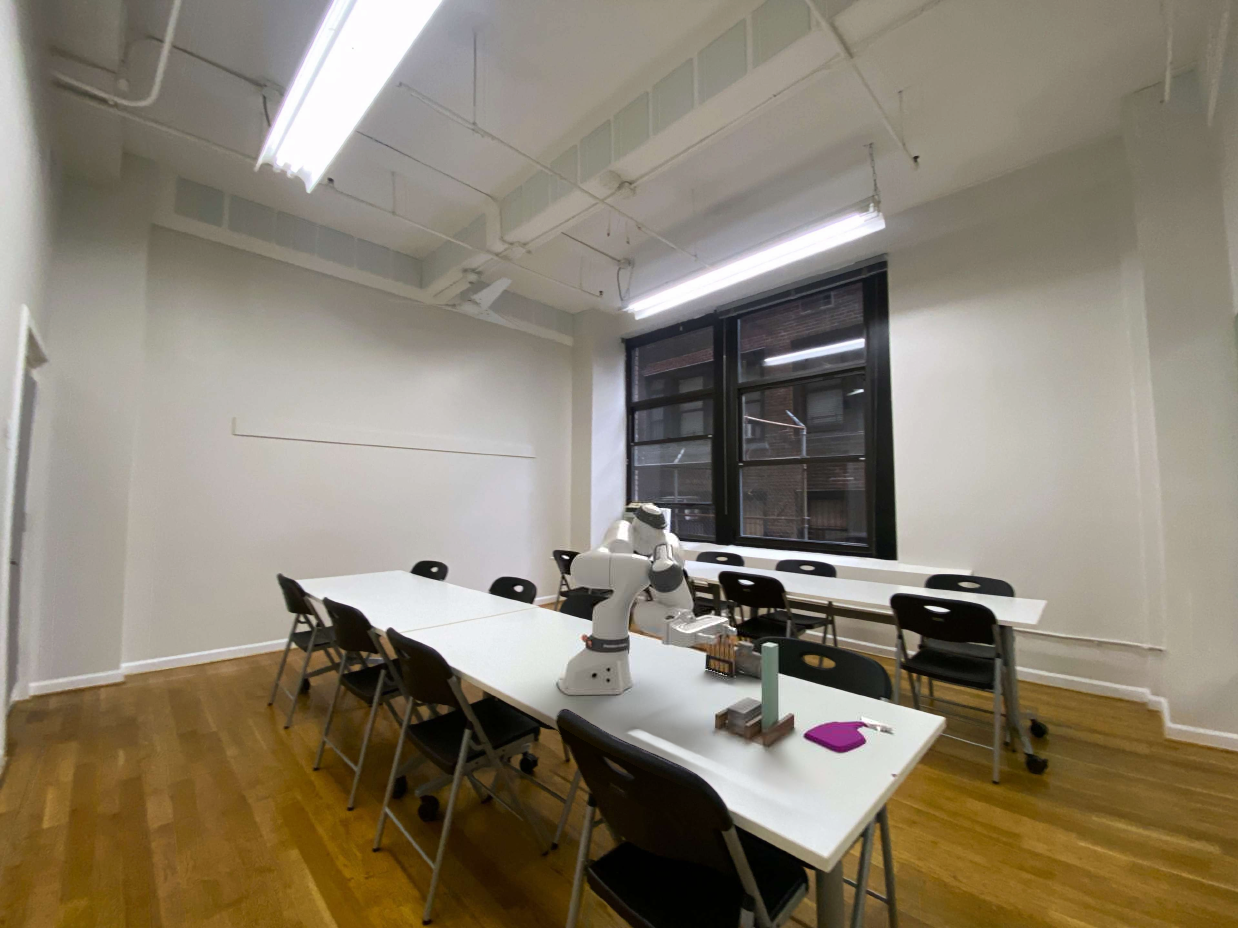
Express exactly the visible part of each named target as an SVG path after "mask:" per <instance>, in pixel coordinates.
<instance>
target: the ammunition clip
mask: <svg viewBox="0 0 1238 928" xmlns="http://www.w3.org/2000/svg"><path fill="white" fill-rule="evenodd" d="M716 637H717V643H715V644H713V645H712V644H708V643H706V653H705V666H704V667H705V668H704V669H708V670H712V671H715V672H718V673H722V674H724V675H727V676H730V677H735V676H736V677H737V672H736V661H735V651H734V646H735V642H734V639H733V638H731V639H729V637H727V636H726V639H725V638H724V636H721V638H720V635H719V636H716ZM727 676H726V677H727ZM730 677H729V678H730ZM736 677H735V678H736Z"/></svg>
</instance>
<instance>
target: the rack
mask: <svg viewBox="0 0 1238 928" xmlns="http://www.w3.org/2000/svg"><path fill="white" fill-rule="evenodd" d="M738 702H739V701H737V702H736V703H738ZM736 703H733V704H732V705H734V704H736ZM727 708H728V707H726V708H724V709H722V710H721V711H718V712H717V713H715V714H714V717H715V718H714V719H715V720H714V728H715V729H718V730H721V731H723V732H727V733H729V734H731V735H734V736H737V737H739V738H742V739H743V740H744V739H745V740H746V741H750V742H752V743H755V744H758V745H760V746H762V747H765V748H770V747H772V746H773V745H774V744H775V743H777V742H778V741H779V740H781V739H782V738H784V737H785V736H786V735H788V734H789V733H790V732H792V731H793V730H795V729H796V727H795V714H794V713H791V712H790V713H788V714H787V715H785V716H783V717H782V718H781V719H779V721H778V722H776V723H775V724H773V725H772V726H770V727H769V728H767V729H766V730H764V731H763V734H762V714H761V715H760V716H758V717H756V718H755V719H753V720H751V721H750V722H748V723H747V724H745V735H743V734H740V733H738V732H735V731H732V730H729V729H727V728H725V721H727V720H728V715H727Z"/></svg>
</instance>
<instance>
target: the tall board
mask: <svg viewBox="0 0 1238 928" xmlns="http://www.w3.org/2000/svg"><path fill="white" fill-rule="evenodd" d="M761 655H762V678H761V702H762V734H763V731H764V730H766V729H767V728H769V727H770V726H772V725H773V724H775V723H776V722H778V721H779V720H780V719H779V715H780V714H779V709H780V708H779V644H778V643H773V642H770V641H769V642H766V643H763V644H761Z"/></svg>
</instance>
